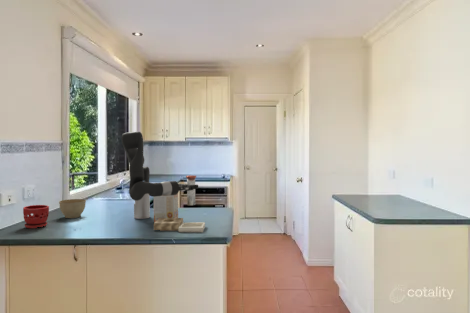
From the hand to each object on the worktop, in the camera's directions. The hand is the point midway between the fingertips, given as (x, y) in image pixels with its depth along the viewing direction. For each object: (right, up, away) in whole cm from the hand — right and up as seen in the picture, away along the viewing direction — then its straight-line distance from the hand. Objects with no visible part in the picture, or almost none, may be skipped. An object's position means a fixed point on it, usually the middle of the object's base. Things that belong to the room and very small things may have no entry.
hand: (195, 186), depth 197 cm
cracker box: (-20, -24, +21) cm, 37 cm away
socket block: (-16, -24, +5) cm, 29 cm away
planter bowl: (-85, -24, +37) cm, 96 cm away
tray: (-2, -24, -1) cm, 24 cm away
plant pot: (-94, -25, +9) cm, 97 cm away
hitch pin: (-2, -10, -1) cm, 10 cm away
